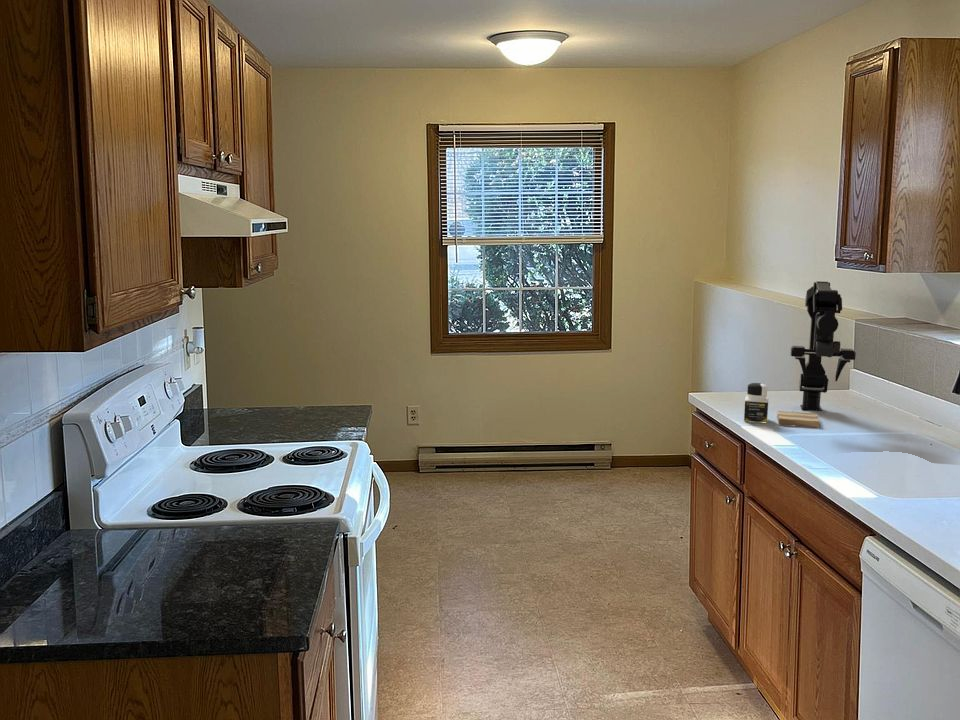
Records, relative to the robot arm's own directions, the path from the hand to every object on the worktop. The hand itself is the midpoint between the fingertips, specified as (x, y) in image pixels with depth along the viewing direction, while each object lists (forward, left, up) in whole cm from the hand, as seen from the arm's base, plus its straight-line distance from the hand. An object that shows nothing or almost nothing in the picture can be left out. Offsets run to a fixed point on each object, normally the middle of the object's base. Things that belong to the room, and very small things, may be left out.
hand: (820, 380), depth 298 cm
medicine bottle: (-4, -19, -15) cm, 24 cm away
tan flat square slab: (-5, -6, -15) cm, 17 cm away
